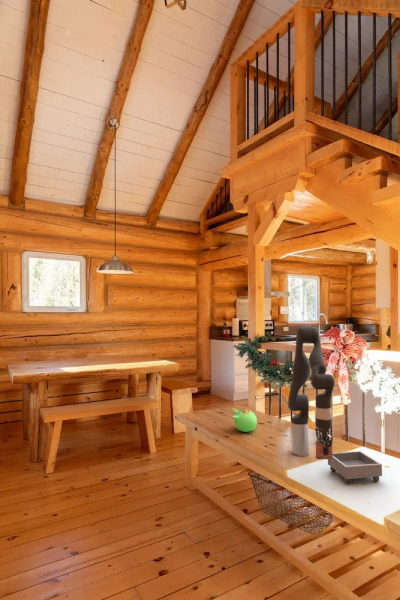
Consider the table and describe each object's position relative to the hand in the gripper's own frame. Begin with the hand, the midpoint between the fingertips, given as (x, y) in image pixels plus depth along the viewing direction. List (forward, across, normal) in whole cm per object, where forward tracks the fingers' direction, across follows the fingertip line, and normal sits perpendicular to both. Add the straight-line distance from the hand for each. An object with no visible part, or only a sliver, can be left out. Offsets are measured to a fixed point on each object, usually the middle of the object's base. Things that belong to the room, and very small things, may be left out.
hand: (324, 453), depth 184 cm
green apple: (+15, -84, -16) cm, 87 cm away
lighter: (+2, 0, 0) cm, 2 cm away
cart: (+14, -4, +17) cm, 22 cm away
